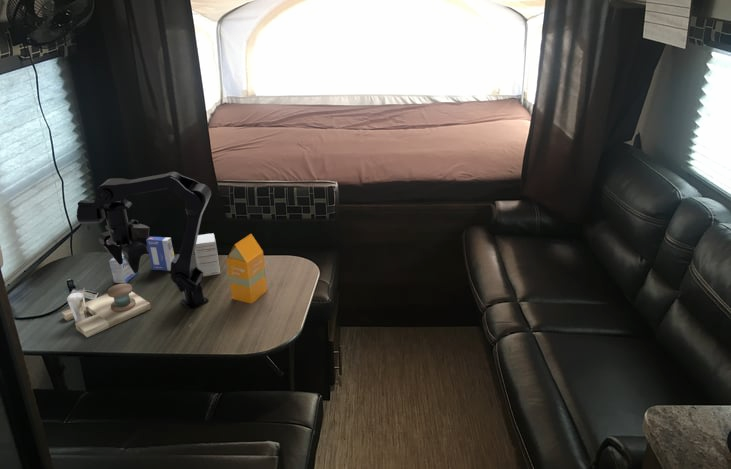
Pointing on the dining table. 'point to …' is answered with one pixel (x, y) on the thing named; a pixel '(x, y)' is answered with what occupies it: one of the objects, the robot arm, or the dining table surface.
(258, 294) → the orange juice
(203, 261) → the supplement box
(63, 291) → the dining table surface
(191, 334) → the dining table surface
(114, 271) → the medicine box
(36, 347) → the dining table surface
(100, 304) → the board
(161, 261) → the walkman
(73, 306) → the milkshake
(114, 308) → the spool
